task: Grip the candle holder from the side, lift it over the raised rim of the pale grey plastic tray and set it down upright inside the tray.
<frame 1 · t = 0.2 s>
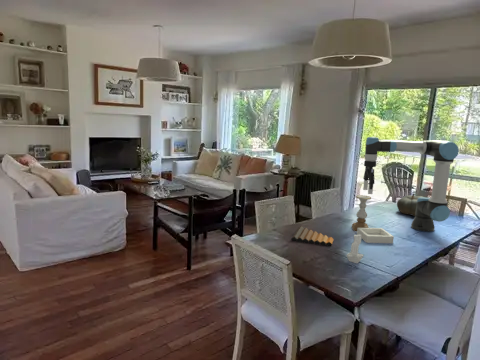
hand: (367, 191, 236), 29 cm above the table, fingers open, 13 cm apart
candle holder: (360, 229, 249), on the table
rimmed tray: (374, 238, 230), on the table
figurine: (354, 261, 192), on the table
pan flute: (314, 238, 229), on the table
gourd: (411, 214, 297), on the table
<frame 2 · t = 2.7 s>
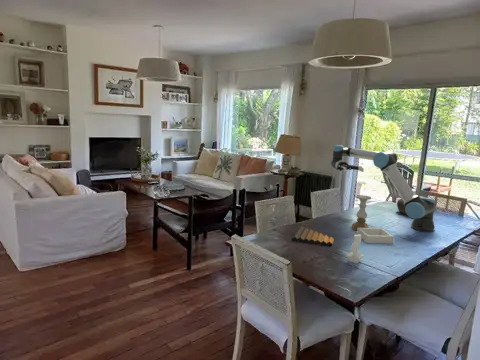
hand: (354, 169, 259), 40 cm above the table, fingers open, 13 cm apart
nothing on the table moved.
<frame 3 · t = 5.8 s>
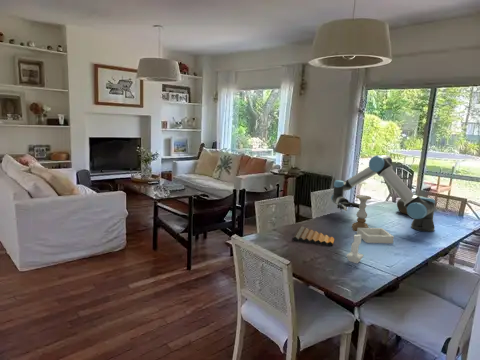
hand: (355, 209, 257), 12 cm above the table, fingers open, 13 cm apart
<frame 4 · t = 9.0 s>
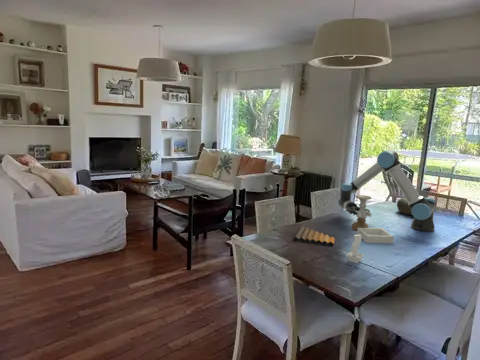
hand: (365, 214, 242), 12 cm above the table, fingers closed on candle holder, 7 cm apart
candle holder: (360, 229, 249), on the table, touching gripper
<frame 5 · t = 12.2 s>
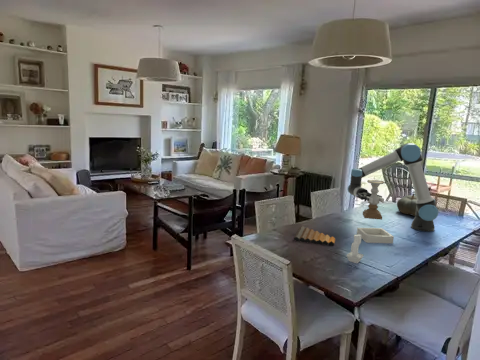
hand: (377, 200, 224), 26 cm above the table, fingers closed on candle holder, 7 cm apart
candle holder: (372, 217, 231), point 14 cm above the table, touching gripper
when the fingers open (14 cm above the table, at t = 15.2 s): candle holder drops 1 cm, resting on rimmed tray.
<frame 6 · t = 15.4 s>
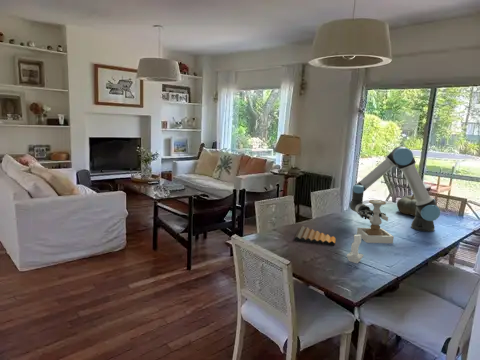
hand: (380, 219, 223), 14 cm above the table, fingers open, 9 cm apart
candle holder: (374, 237, 230), point 1 cm above the table, touching rimmed tray
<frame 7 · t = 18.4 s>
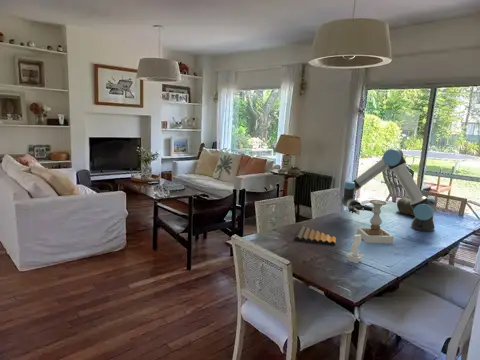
hand: (368, 212, 238), 15 cm above the table, fingers open, 13 cm apart
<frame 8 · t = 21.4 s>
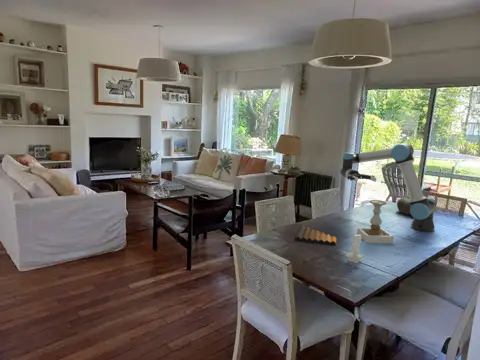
hand: (366, 179, 242), 36 cm above the table, fingers open, 13 cm apart
at the end: candle holder 0.1 cm off-centre on the rimmed tray, point 0.8 cm above the rimmed tray's base; candle holder tilted 0°; the gripper is holding nothing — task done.
